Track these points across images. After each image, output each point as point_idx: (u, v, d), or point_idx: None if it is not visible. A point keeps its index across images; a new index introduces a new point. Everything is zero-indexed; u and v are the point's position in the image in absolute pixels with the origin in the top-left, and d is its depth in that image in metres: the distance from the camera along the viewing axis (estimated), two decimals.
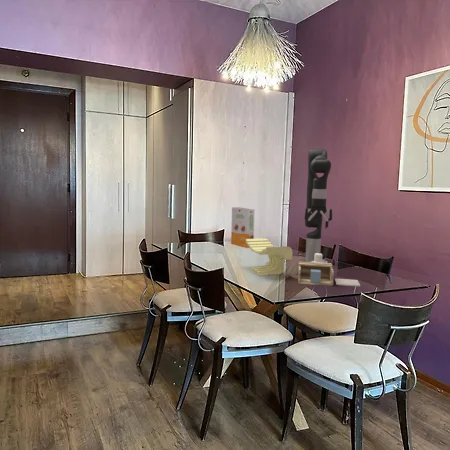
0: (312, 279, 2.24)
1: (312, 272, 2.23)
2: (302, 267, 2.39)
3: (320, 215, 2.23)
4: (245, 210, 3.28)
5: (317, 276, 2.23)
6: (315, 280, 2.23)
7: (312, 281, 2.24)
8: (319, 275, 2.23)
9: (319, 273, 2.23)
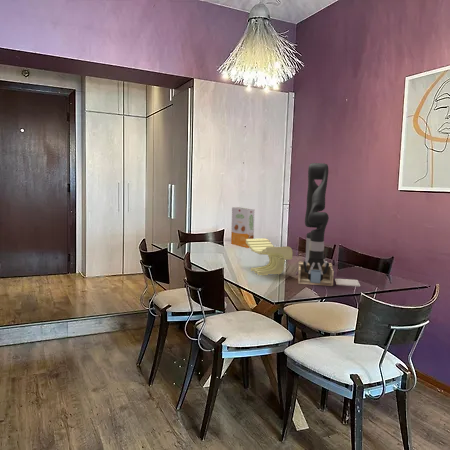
0: (312, 279, 2.24)
1: (312, 272, 2.23)
2: (302, 267, 2.39)
3: (317, 267, 2.24)
4: (245, 210, 3.28)
5: (317, 276, 2.23)
6: (315, 280, 2.23)
7: (312, 281, 2.24)
8: (319, 275, 2.23)
9: (319, 273, 2.23)
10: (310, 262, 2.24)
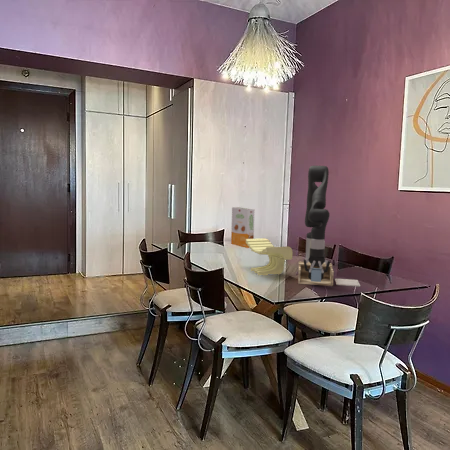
0: (313, 278, 2.18)
1: (313, 271, 2.18)
2: (302, 267, 2.39)
3: (318, 265, 2.18)
4: (245, 210, 3.28)
5: (318, 275, 2.17)
6: (316, 279, 2.18)
7: (313, 280, 2.18)
8: (320, 274, 2.17)
9: (320, 272, 2.17)
10: (310, 260, 2.19)
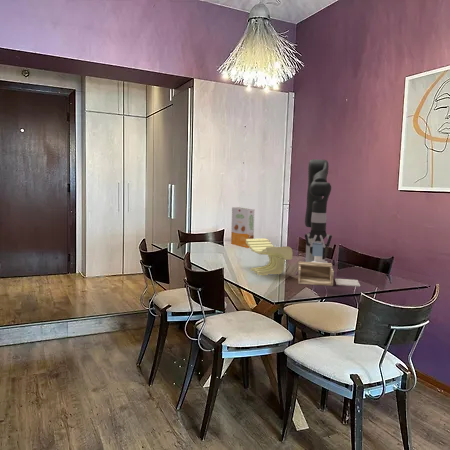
0: (314, 252, 2.14)
1: (314, 245, 2.14)
2: (302, 267, 2.39)
3: (320, 240, 2.15)
4: (245, 210, 3.28)
5: (319, 250, 2.14)
6: (317, 253, 2.14)
7: (314, 254, 2.15)
8: (321, 248, 2.14)
9: (321, 246, 2.13)
10: (312, 235, 2.15)
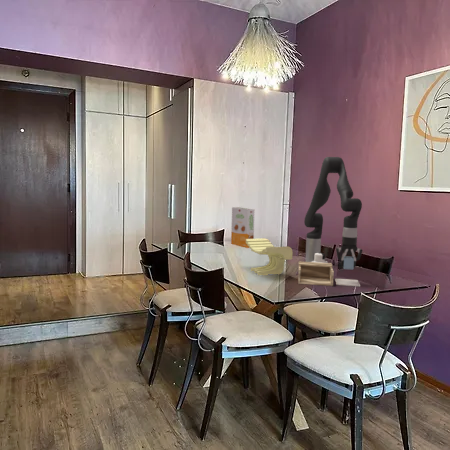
0: (345, 265, 2.24)
1: (345, 258, 2.23)
2: (302, 267, 2.39)
3: (351, 253, 2.24)
4: (245, 210, 3.28)
5: (350, 263, 2.23)
6: (348, 266, 2.23)
7: (345, 267, 2.24)
8: (352, 261, 2.23)
9: (352, 259, 2.23)
10: (343, 249, 2.24)
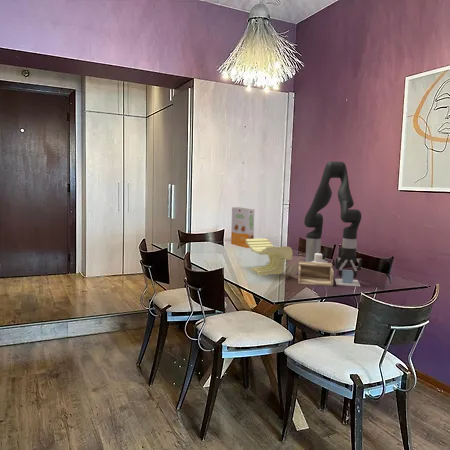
0: (344, 279, 2.25)
1: (344, 272, 2.24)
2: (302, 267, 2.39)
3: (350, 264, 2.25)
4: (245, 210, 3.28)
5: (350, 277, 2.24)
6: (347, 280, 2.24)
7: (344, 281, 2.25)
8: (352, 275, 2.24)
9: (352, 273, 2.24)
10: (343, 259, 2.25)
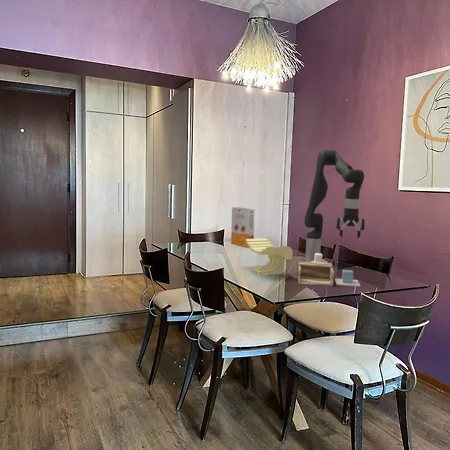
0: (344, 279, 2.25)
1: (344, 272, 2.24)
2: (302, 267, 2.39)
3: (352, 225, 2.25)
4: (245, 210, 3.28)
5: (350, 277, 2.24)
6: (347, 280, 2.24)
7: (344, 281, 2.25)
8: (352, 275, 2.24)
9: (352, 273, 2.24)
10: (345, 219, 2.25)
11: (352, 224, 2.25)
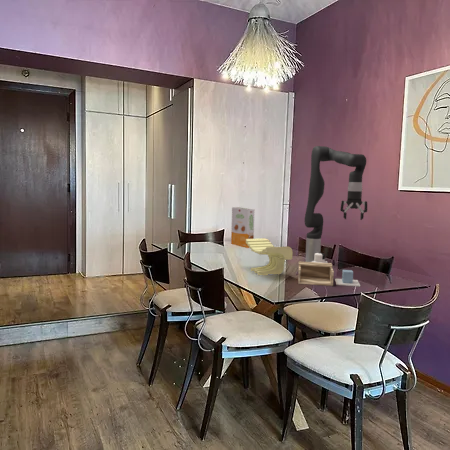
0: (344, 279, 2.25)
1: (344, 272, 2.24)
2: (302, 267, 2.39)
3: (356, 207, 2.34)
4: (245, 210, 3.28)
5: (350, 277, 2.24)
6: (347, 280, 2.24)
7: (344, 281, 2.25)
8: (352, 275, 2.24)
9: (352, 273, 2.24)
10: (349, 202, 2.35)
11: (355, 206, 2.34)
